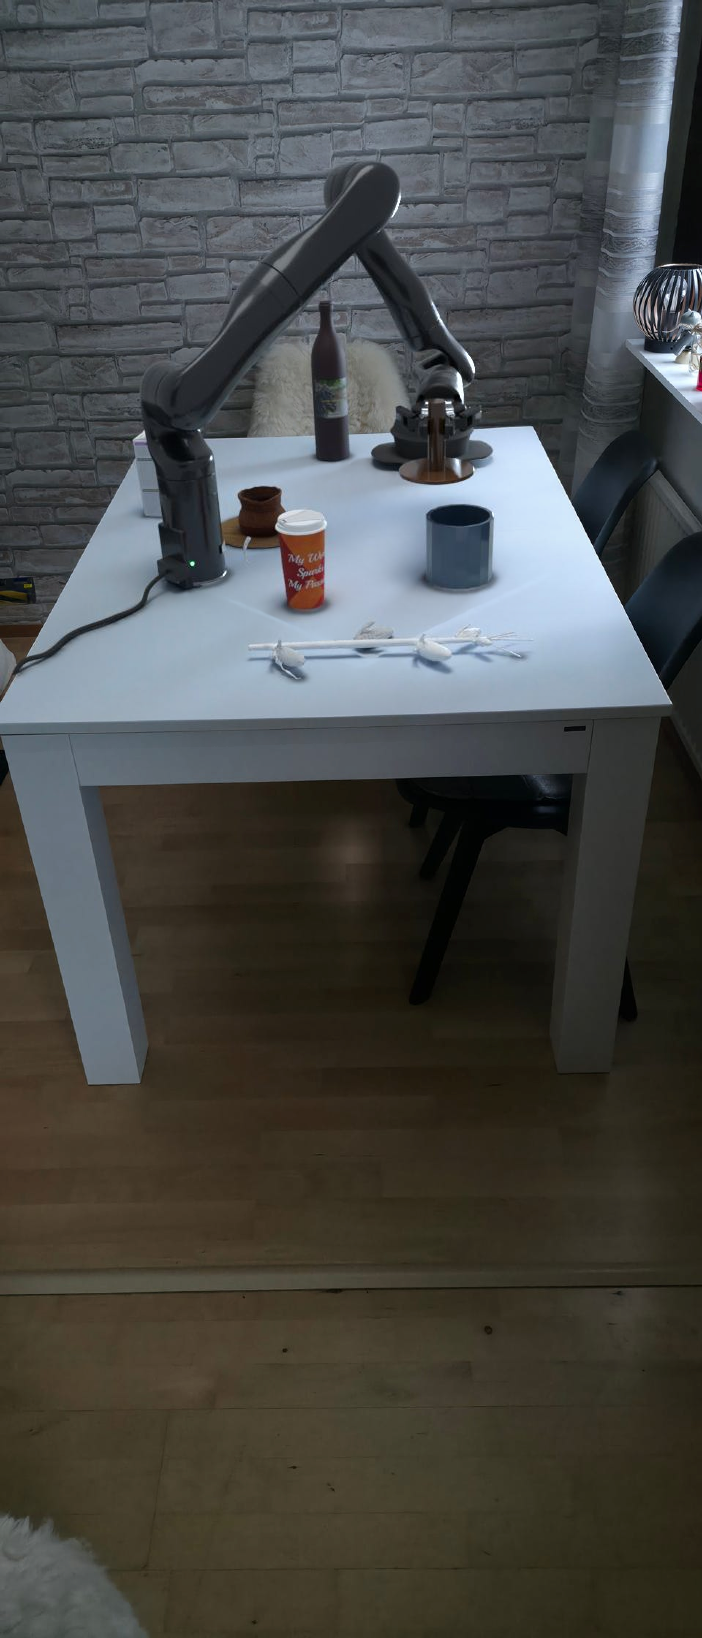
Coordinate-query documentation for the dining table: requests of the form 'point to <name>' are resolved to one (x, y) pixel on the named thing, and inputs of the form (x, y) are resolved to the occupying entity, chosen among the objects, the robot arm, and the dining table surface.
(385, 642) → the dried plant stem
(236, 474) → the dining table surface
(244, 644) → the dining table surface
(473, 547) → the blue faceted canister
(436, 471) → the paper towel holder
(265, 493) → the ceramic pot
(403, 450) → the casserole
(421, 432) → the robot arm
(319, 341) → the wine bottle
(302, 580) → the paper cup
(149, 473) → the syrup box
